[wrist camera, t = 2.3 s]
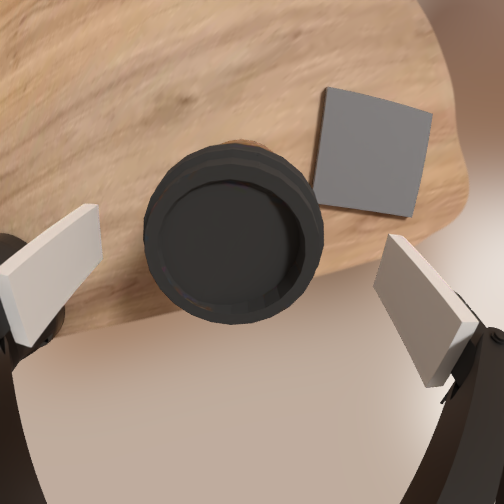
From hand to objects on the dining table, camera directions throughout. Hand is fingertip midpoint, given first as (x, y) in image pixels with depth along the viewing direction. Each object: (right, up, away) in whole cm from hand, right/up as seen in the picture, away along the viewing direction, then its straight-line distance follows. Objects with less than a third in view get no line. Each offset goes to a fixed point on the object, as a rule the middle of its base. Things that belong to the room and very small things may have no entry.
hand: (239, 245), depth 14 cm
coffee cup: (0, +6, +13) cm, 14 cm away
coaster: (+11, +8, +12) cm, 18 cm away
